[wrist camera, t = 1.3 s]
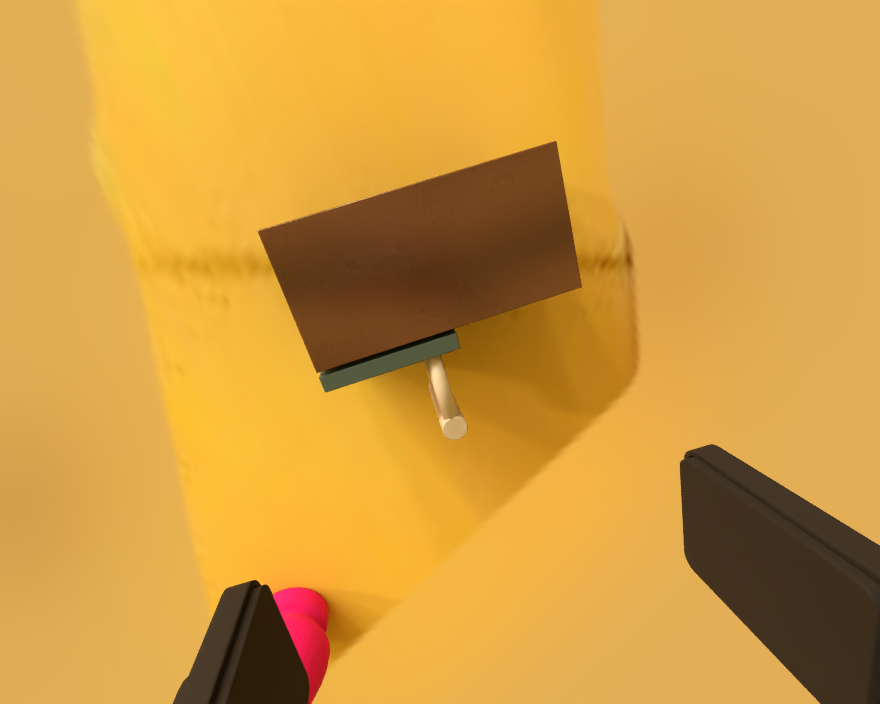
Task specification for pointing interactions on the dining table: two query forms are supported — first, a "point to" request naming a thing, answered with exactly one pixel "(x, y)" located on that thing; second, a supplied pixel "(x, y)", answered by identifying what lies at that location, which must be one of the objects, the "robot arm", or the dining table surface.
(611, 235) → the dining table surface
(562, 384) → the dining table surface
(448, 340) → the sliding door
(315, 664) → the pepper mill
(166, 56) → the dining table surface
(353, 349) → the cabinet
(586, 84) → the dining table surface
